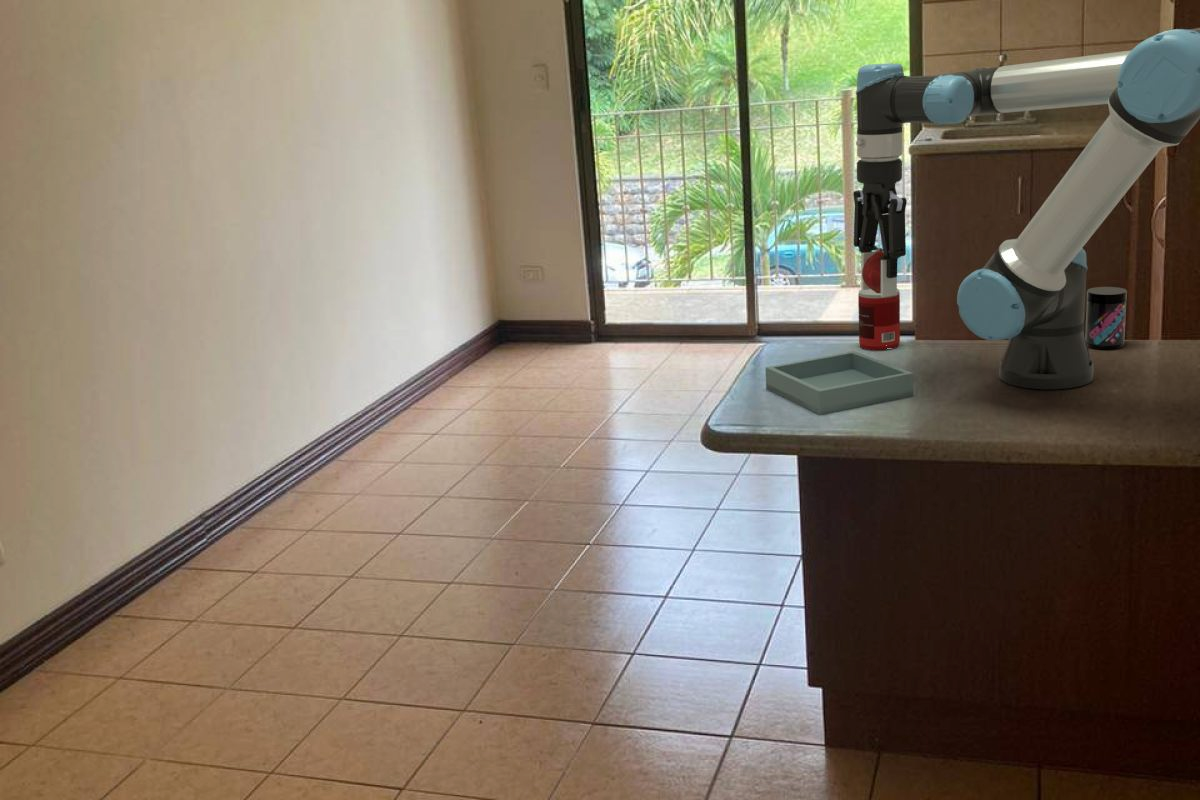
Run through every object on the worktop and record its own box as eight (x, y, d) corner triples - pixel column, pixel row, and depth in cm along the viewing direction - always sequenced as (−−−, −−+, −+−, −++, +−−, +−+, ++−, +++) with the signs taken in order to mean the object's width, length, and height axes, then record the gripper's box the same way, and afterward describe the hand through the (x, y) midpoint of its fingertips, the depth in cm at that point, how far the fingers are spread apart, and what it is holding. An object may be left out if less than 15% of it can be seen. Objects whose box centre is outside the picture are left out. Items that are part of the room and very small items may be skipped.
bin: (913, 396, 203) (913, 373, 202) (819, 414, 197) (819, 391, 196) (854, 372, 219) (853, 351, 218) (766, 389, 213) (765, 367, 212)
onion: (895, 297, 209) (896, 251, 206) (861, 297, 210) (861, 251, 208) (896, 289, 214) (896, 244, 212) (862, 289, 216) (863, 245, 213)
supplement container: (1079, 348, 223) (1081, 293, 220) (1092, 339, 228) (1094, 285, 225) (1117, 352, 219) (1119, 295, 216) (1129, 343, 224) (1132, 288, 221)
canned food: (905, 342, 237) (905, 287, 234) (891, 352, 230) (891, 295, 227) (867, 339, 241) (867, 285, 238) (853, 349, 234) (852, 293, 231)
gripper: (832, 155, 213) (833, 285, 220) (889, 165, 195) (888, 305, 202) (870, 151, 215) (870, 280, 222) (929, 161, 198) (927, 299, 204)
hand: (878, 291), depth 212 cm, fingers closed on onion, 6 cm apart
